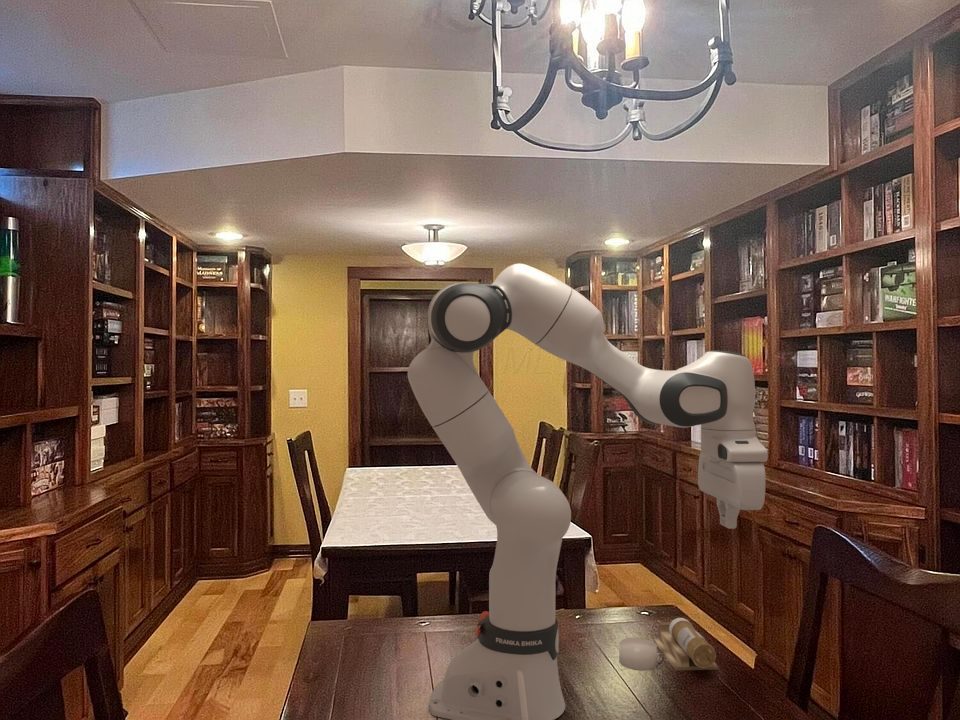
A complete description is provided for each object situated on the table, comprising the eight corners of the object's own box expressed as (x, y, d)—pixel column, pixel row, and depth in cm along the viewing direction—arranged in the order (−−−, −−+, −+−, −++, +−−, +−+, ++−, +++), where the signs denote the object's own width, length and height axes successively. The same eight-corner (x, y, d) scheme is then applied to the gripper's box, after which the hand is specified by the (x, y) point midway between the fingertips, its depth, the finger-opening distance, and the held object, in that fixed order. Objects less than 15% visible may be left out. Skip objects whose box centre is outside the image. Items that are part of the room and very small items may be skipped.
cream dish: (620, 670, 134) (620, 651, 134) (618, 654, 141) (618, 636, 141) (659, 672, 133) (659, 653, 133) (654, 656, 140) (654, 638, 140)
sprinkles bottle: (719, 646, 130) (693, 619, 144) (694, 641, 130) (671, 614, 143) (713, 671, 130) (688, 641, 144) (689, 666, 130) (666, 637, 143)
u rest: (718, 669, 134) (718, 647, 134) (675, 670, 134) (675, 648, 134) (692, 641, 148) (692, 621, 148) (653, 641, 148) (653, 622, 148)
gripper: (688, 439, 133) (689, 514, 133) (733, 452, 113) (734, 541, 112) (722, 439, 133) (722, 514, 133) (772, 452, 113) (773, 540, 113)
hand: (728, 526), depth 123 cm, fingers closed
